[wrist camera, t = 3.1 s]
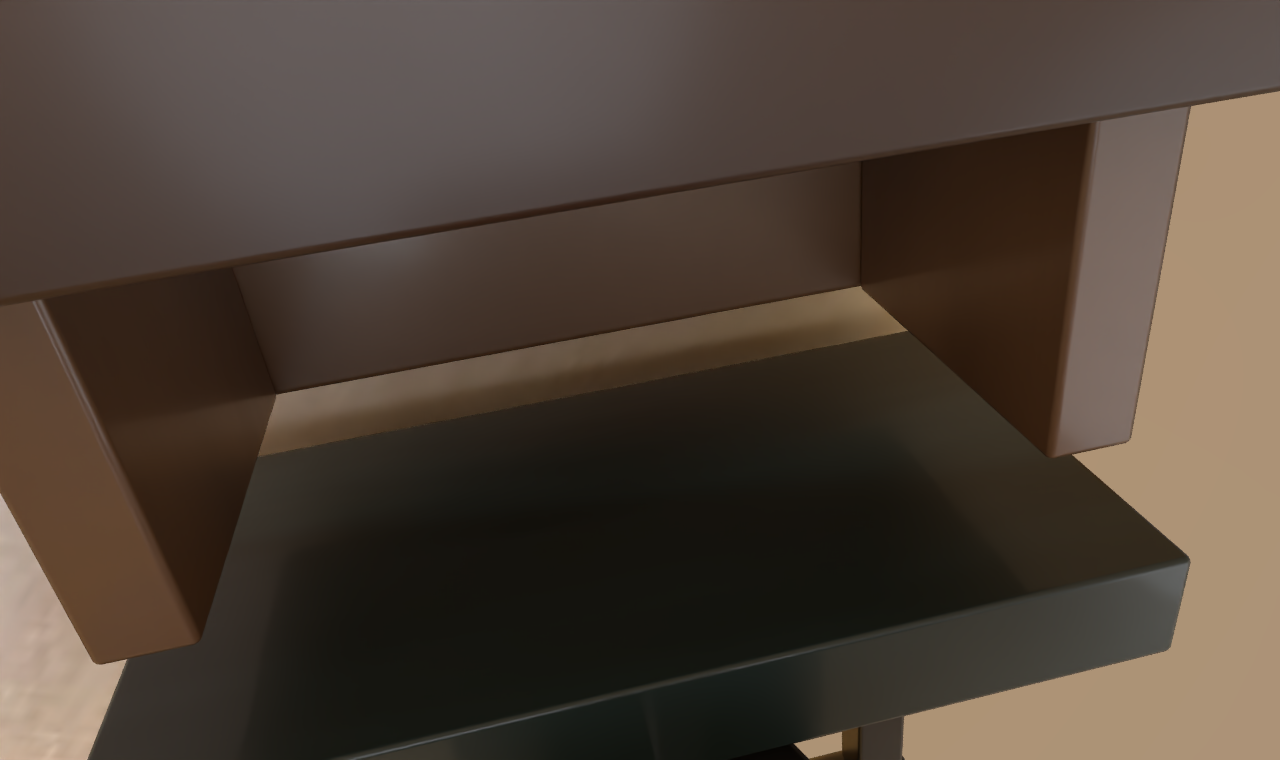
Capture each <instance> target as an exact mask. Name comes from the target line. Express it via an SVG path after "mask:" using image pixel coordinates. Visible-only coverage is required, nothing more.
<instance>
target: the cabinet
mask: <svg viewBox="0 0 1280 760" xmlns="http://www.w3.org/2000/svg"><path fill="white" fill-rule="evenodd" d="M1277 91H1280V0H0V306H6V305H12V304H18V303H24V302H30V301H36V300H41V299H47V298H53V297H59V296H65V295H71V294H77V293H83V292H89V291H95V290H101V289H107V288H113V287H119V286H125V285H131V284H136V283H142V282H148V281H154V280H160V279H166V278H172V277H178V276H184V275H190V274H196V273H202V272H208V271H214V270H220V269H226V268H232V267H237V266H243V265H249V264H255V263H261V262H267V261H273V260H279V259H285V258H291V257H297V256H303V255H309V254H315V253H321V252H327V251H332V250H338V249H344V248H350V247H356V246H362V245H368V244H374V243H380V242H386V241H392V240H398V239H404V238H410V237H416V236H422V235H427V234H433V233H439V232H445V231H451V230H457V229H463V228H469V227H475V226H481V225H487V224H493V223H499V222H505V221H511V220H517V219H523V218H528V217H534V216H540V215H546V214H552V213H558V212H564V211H570V210H576V209H582V208H588V207H594V206H600V205H606V204H612V203H618V202H623V201H629V200H635V199H641V198H647V197H653V196H659V195H665V194H671V193H677V192H683V191H689V190H695V189H701V188H707V187H713V186H718V185H724V184H730V183H736V182H742V181H748V180H754V179H760V178H766V177H772V176H778V175H784V174H790V173H796V172H802V171H808V170H813V169H819V168H825V167H831V166H837V165H843V164H849V163H855V162H861V161H867V160H873V159H879V158H885V157H891V156H897V155H903V154H909V153H914V152H920V151H926V150H932V149H938V148H944V147H950V146H956V145H962V144H968V143H974V142H980V141H986V140H992V139H998V138H1004V137H1009V136H1015V135H1021V134H1027V133H1033V132H1039V131H1045V130H1051V129H1057V128H1063V127H1069V126H1075V125H1081V124H1087V123H1093V122H1099V121H1104V120H1110V119H1116V118H1122V117H1128V116H1134V115H1140V114H1146V113H1152V112H1158V111H1164V110H1170V109H1176V108H1182V107H1188V106H1194V105H1200V104H1205V103H1211V102H1217V101H1223V100H1229V99H1235V98H1240V97H1247V96H1252V95H1258V94H1265V93H1271V92H1277Z"/></svg>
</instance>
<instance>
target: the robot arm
mask: <svg viewBox="0 0 1280 760" xmlns="http://www.w3.org/2000/svg"><path fill="white" fill-rule="evenodd" d="M729 760H809V759H808V758H807V757H806V756H805V755H804V754H803V753H802V752H801V751H800V750H799V749H798V748H797V747H796V746H795V745H794V744H790V745H786V746H782V747H778V748H774V749H770V750H766V751H762V752H758V753H754V754H750V755H746V756H742V757H737V758H733V759H729Z"/></svg>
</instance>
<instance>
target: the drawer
mask: <svg viewBox="0 0 1280 760" xmlns="http://www.w3.org/2000/svg"><path fill="white" fill-rule="evenodd" d="M1190 108H1191V106H1188V107H1182V108H1176V109H1170V110H1164V111H1158V112H1152V113H1146V114H1140V115H1134V116H1128V117H1122V118H1116V119H1110V120H1104V121H1099V122H1093V123H1087V124H1081V125H1075V126H1069V127H1063V128H1057V129H1051V130H1045V131H1039V132H1033V133H1027V134H1021V135H1015V136H1009V137H1004V138H998V139H992V140H986V141H980V142H974V143H968V144H962V145H956V146H950V147H944V148H938V149H932V150H926V151H920V152H914V153H909V154H903V155H897V156H891V157H885V158H879V159H873V160H867V161H861V162H855V163H849V164H843V165H837V166H831V167H825V168H819V169H813V170H808V171H802V172H796V173H790V174H784V175H778V176H772V177H766V178H760V179H754V180H748V181H742V182H736V183H730V184H724V185H718V186H713V187H707V188H701V189H695V190H689V191H683V192H677V193H671V194H665V195H659V196H653V197H647V198H641V199H635V200H629V201H623V202H618V203H612V204H606V205H600V206H594V207H588V208H582V209H576V210H570V211H564V212H558V213H552V214H546V215H540V216H534V217H528V218H523V219H517V220H511V221H505V222H499V223H493V224H487V225H481V226H475V227H469V228H463V229H457V230H451V231H445V232H439V233H433V234H427V235H422V236H416V237H410V238H404V239H398V240H392V241H386V242H380V243H374V244H368V245H362V246H356V247H350V248H344V249H338V250H332V251H327V252H321V253H315V254H309V255H303V256H297V257H291V258H285V259H279V260H273V261H267V262H261V263H255V264H249V265H243V266H237V267H232V268H226V269H220V270H214V271H208V272H202V273H196V274H190V275H184V276H178V277H172V278H166V279H160V280H154V281H148V282H142V283H136V284H131V285H125V286H119V287H113V288H107V289H101V290H95V291H89V292H83V293H77V294H71V295H65V296H59V297H53V298H47V299H41V300H36V301H30V302H24V303H18V304H12V305H6V306H0V493H1V495H2V497H3V498H4V500H5V502H6V504H7V506H8V508H9V509H10V511H11V513H12V515H13V517H14V519H15V520H16V522H17V524H18V526H19V528H20V529H21V531H22V533H23V535H24V537H25V539H26V540H27V542H28V544H29V546H30V548H31V550H32V551H33V553H34V555H35V557H36V559H37V560H38V562H39V564H40V566H41V568H42V570H43V571H44V573H45V575H46V577H47V579H48V581H49V582H50V584H51V586H52V588H53V590H54V591H55V593H56V595H57V597H58V599H59V601H60V602H61V604H62V606H63V608H64V610H65V612H66V613H67V615H68V617H69V619H70V621H71V622H72V624H73V626H74V628H75V630H76V632H77V633H78V635H79V637H80V639H81V641H82V643H83V644H84V646H85V648H86V650H87V652H88V653H89V655H90V657H91V659H92V661H93V662H94V663H96V664H106V663H111V662H116V661H120V660H125V659H127V661H126V664H125V666H124V669H123V671H122V674H121V676H120V679H119V681H118V684H117V686H116V689H115V691H114V694H113V697H112V699H111V702H110V704H109V707H108V709H107V712H106V714H105V717H104V719H103V722H102V724H101V727H100V729H99V732H98V734H97V737H96V739H95V742H94V744H93V747H92V749H91V752H90V754H89V757H88V759H87V760H729V759H733V758H737V757H742V756H746V755H750V754H754V753H758V752H762V751H766V750H770V749H774V748H778V747H782V746H786V745H790V744H794V743H798V742H802V741H806V740H810V739H814V738H818V737H822V736H826V735H830V734H834V733H838V732H842V751H838V752H834V753H830V754H826V755H822V756H818V757H814V758H810V759H809V760H905V759H904V757H903V756H902V746H903V723H904V716H906V715H910V714H914V713H918V712H922V711H926V710H930V709H935V708H938V707H943V706H947V705H950V704H954V703H958V702H963V701H967V700H971V699H975V698H979V697H983V696H986V695H990V694H995V693H999V692H1003V691H1007V690H1011V689H1015V688H1019V687H1023V686H1027V685H1031V684H1035V683H1039V682H1043V681H1047V680H1051V679H1055V678H1059V677H1063V676H1067V675H1071V674H1075V673H1079V672H1083V671H1087V670H1091V669H1095V668H1099V667H1103V666H1107V665H1111V664H1116V663H1120V662H1124V661H1128V660H1131V659H1136V658H1139V657H1144V656H1148V655H1152V654H1155V653H1160V652H1164V651H1166V650H1168V649H1169V648H1170V647H1171V643H1172V639H1173V634H1174V630H1175V626H1176V622H1177V617H1178V613H1179V609H1180V605H1181V600H1182V596H1183V591H1184V588H1185V583H1186V579H1187V575H1188V571H1189V566H1190V559H1189V557H1188V556H1187V555H1186V554H1185V553H1184V552H1183V551H1182V550H1181V549H1179V548H1178V547H1177V546H1176V545H1175V544H1174V543H1173V542H1171V541H1170V540H1169V539H1168V538H1167V537H1166V536H1165V535H1163V534H1162V533H1161V532H1160V531H1159V530H1158V529H1156V528H1155V527H1154V526H1153V525H1152V524H1151V523H1150V522H1148V521H1147V520H1146V519H1145V518H1144V517H1143V516H1142V515H1140V514H1139V513H1138V512H1137V511H1136V510H1135V509H1134V508H1132V507H1131V506H1130V505H1129V504H1128V503H1127V502H1125V501H1124V500H1123V499H1122V498H1121V497H1120V496H1119V495H1117V494H1116V493H1115V492H1114V491H1113V490H1112V489H1111V488H1109V487H1108V486H1107V485H1106V484H1105V483H1104V482H1103V481H1101V480H1100V479H1099V478H1098V477H1097V476H1096V475H1094V474H1093V473H1092V472H1091V471H1090V470H1089V469H1087V468H1086V467H1085V466H1084V465H1083V464H1082V463H1081V462H1080V461H1078V460H1077V459H1076V458H1075V457H1074V456H1072V454H1077V453H1081V452H1086V451H1091V450H1095V449H1099V448H1104V447H1108V446H1114V445H1118V444H1123V443H1126V442H1128V441H1129V439H1130V438H1131V435H1132V429H1133V424H1134V417H1135V413H1136V407H1137V402H1138V396H1139V390H1140V385H1141V380H1142V374H1143V368H1144V363H1145V357H1146V351H1147V346H1148V341H1149V335H1150V330H1151V324H1152V319H1153V313H1154V308H1155V302H1156V297H1157V291H1158V285H1159V280H1160V274H1161V269H1162V263H1163V258H1164V252H1165V246H1166V240H1167V236H1168V230H1169V224H1170V219H1171V214H1172V208H1173V202H1174V197H1175V191H1176V186H1177V180H1178V175H1179V169H1180V164H1181V158H1182V153H1183V147H1184V141H1185V136H1186V131H1187V125H1188V119H1189V114H1190ZM857 286H861V287H862V289H863V290H864V291H865V292H866V293H867V294H868V295H869V296H870V297H871V298H873V299H874V300H875V301H876V302H877V303H878V304H879V305H880V306H881V307H882V308H884V309H885V310H886V311H887V312H888V313H889V314H890V315H891V316H892V317H893V318H895V319H896V320H897V321H898V322H899V323H900V324H901V325H902V326H903V327H904V328H906V329H907V330H908V331H905V332H900V333H895V334H890V335H884V336H879V337H874V338H869V339H864V340H859V341H853V342H848V343H843V344H838V345H833V346H828V347H822V348H817V349H812V350H807V351H802V352H797V353H791V354H786V355H781V356H776V357H771V358H766V359H761V360H755V361H750V362H745V363H740V364H735V365H730V366H724V367H719V368H714V369H709V370H704V371H699V372H693V373H688V374H683V375H678V376H673V377H668V378H662V379H657V380H652V381H647V382H642V383H637V384H631V385H626V386H621V387H616V388H611V389H606V390H600V391H595V392H590V393H585V394H580V395H575V396H570V397H564V398H559V399H554V400H549V401H544V402H539V403H533V404H528V405H523V406H518V407H513V408H508V409H502V410H497V411H492V412H487V413H482V414H477V415H471V416H466V417H461V418H456V419H451V420H446V421H440V422H435V423H430V424H425V425H420V426H415V427H410V428H404V429H399V430H394V431H389V432H384V433H379V434H373V435H368V436H363V437H358V438H353V439H348V440H342V441H337V442H332V443H327V444H322V445H317V446H311V447H306V448H301V449H296V450H291V451H286V452H280V453H275V454H270V455H265V456H260V457H258V454H259V451H260V447H261V444H262V441H263V438H264V434H265V431H266V428H267V425H268V421H269V418H270V415H271V412H272V408H273V405H274V402H275V398H276V394H282V393H287V392H292V391H298V390H303V389H309V388H314V387H319V386H325V385H330V384H335V383H341V382H346V381H352V380H357V379H362V378H368V377H373V376H378V375H384V374H389V373H395V372H400V371H405V370H411V369H416V368H421V367H427V366H432V365H438V364H443V363H448V362H454V361H459V360H464V359H470V358H475V357H481V356H486V355H491V354H497V353H502V352H507V351H513V350H518V349H524V348H529V347H534V346H540V345H545V344H550V343H556V342H561V341H567V340H572V339H577V338H583V337H588V336H593V335H599V334H604V333H610V332H615V331H620V330H626V329H631V328H636V327H642V326H647V325H653V324H658V323H663V322H669V321H674V320H679V319H685V318H690V317H696V316H701V315H706V314H712V313H717V312H722V311H728V310H733V309H739V308H744V307H749V306H755V305H760V304H765V303H771V302H776V301H782V300H787V299H792V298H798V297H803V296H808V295H814V294H819V293H825V292H830V291H835V290H841V289H846V288H851V287H857Z"/></svg>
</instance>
